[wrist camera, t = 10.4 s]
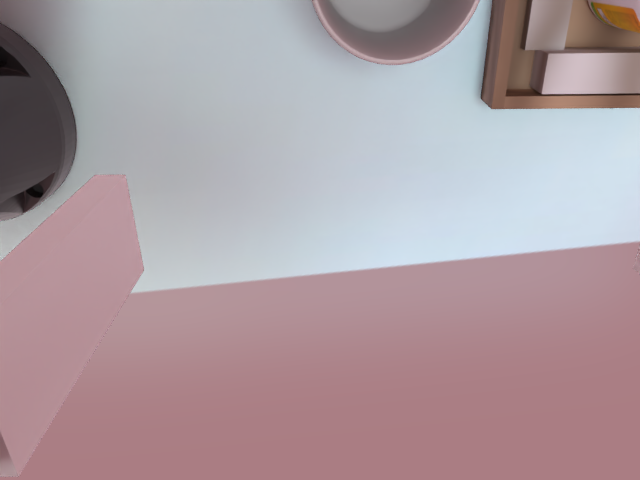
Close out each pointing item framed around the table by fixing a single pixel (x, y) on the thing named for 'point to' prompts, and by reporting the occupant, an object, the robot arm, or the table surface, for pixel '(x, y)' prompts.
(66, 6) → the table surface
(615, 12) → the supplement bottle
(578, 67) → the walled box
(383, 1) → the mug
